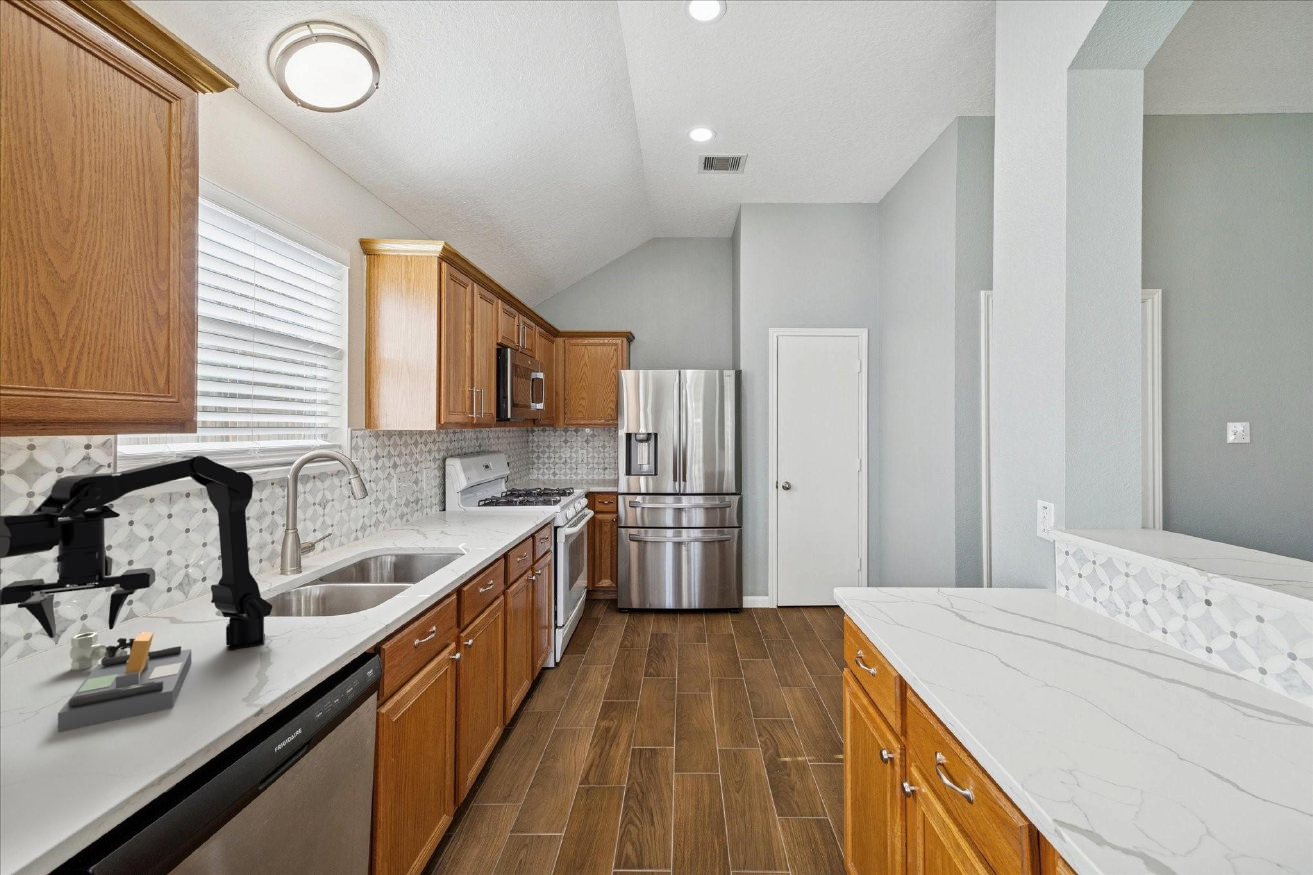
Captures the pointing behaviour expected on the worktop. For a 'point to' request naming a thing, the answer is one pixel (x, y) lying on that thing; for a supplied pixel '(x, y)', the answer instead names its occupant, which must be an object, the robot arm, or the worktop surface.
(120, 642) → the valve
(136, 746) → the worktop surface
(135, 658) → the lever
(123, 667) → the panel
